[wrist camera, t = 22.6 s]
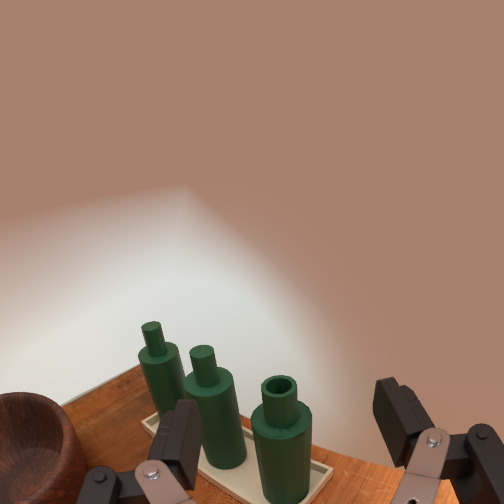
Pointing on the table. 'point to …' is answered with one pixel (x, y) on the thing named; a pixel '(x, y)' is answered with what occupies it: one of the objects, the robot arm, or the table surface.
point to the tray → (247, 472)
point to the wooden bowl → (38, 452)
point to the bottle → (282, 441)
